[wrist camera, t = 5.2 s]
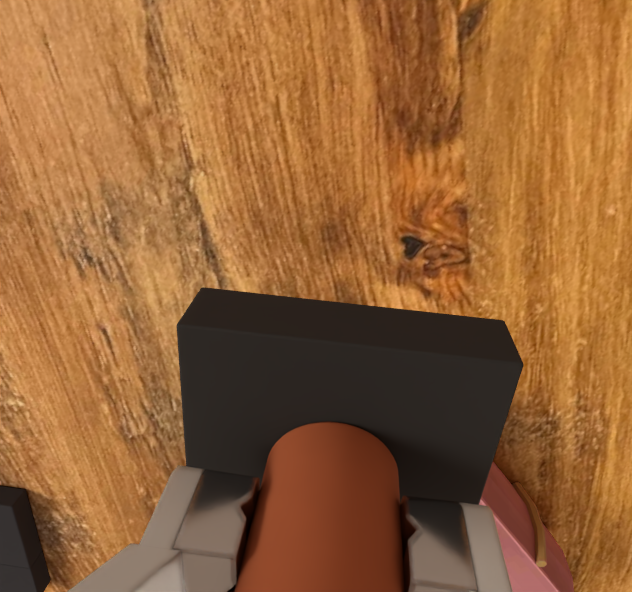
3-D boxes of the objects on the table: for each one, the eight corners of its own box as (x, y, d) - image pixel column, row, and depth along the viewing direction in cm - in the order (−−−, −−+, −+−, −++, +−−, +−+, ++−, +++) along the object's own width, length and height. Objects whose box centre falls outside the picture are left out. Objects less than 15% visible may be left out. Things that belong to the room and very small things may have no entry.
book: (561, 524, 31) (591, 606, 26) (355, 598, 36) (352, 677, 32) (432, 359, 26) (443, 424, 22) (220, 472, 32) (195, 543, 27)
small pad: (209, 495, 13) (125, 733, 9) (201, 286, 10) (69, 481, 6) (446, 526, 13) (484, 791, 8) (505, 319, 10) (610, 553, 5)
